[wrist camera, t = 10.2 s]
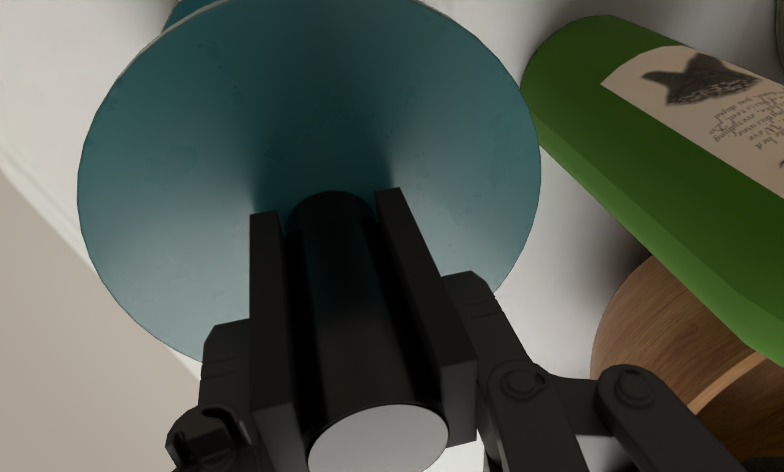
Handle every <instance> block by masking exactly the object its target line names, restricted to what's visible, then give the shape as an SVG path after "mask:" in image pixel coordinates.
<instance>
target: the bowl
mask: <svg viewBox="0 0 784 472" xmlns="http://www.w3.org/2000/svg"><path fill="white" fill-rule="evenodd" d="M618 364H630V365H636V366H640V367H642V368H644V369H647V370H649V371H651V372H653V373H654V374H655V375H656V376H658V377H659V378H660V379H661V380H663V381H664V382H665V383H666V385H667V386H668V387H669V388H670V389H671V390H672V391H673V392H674V393H675V394H676V395H677V396H678V397H679V398H680V400H681V401H682V402H683V403H684V404H685V405H686V406H687V407H688V408H689V409H690V410H691V411H692V412H693V413H694V414H695V416H696V417H697V418H698V419H699V420H700V421H701V422H702V423H703V424H704V425H705V426H706V427H707V428H708V429H709V430H710V432H711V433H712V434H713V435H714V436H715V437H716V438H717V439H718V440H719V441H720V442H721V443H722V444H723V445H724V447H725V448H726V449H727V450H728V451H729V452H730V453H731V454H732V455H733V456H734V457H735V458H736V459H737V460H738V461H739V462H741V463H742V462H743V461H744V460H745V459H747V458H752V457H754V456H755V457H764V456H765V457H767V456H768V457H769V456H771V457H772V456H774V457H778V456H782V457H784V368H783V367H781V366H780V365H778V364H776V363H775V362H773V361H772V360H770V359H768V358H767V357H765V356H764V355H762V354H760V353H759V352H757V351H756V350H754V349H752V348H751V347H749V346H748V345H746V344H745V343H744V342H743V341H742V340H741V339H740V338H739V337H738V336H737V335H736V334H735V333H733V332H732V331H731V330H730V329H729V328H728V327H727V326H726V325H725V324H724V323H723V322H722V321H721V320H720V319H719V318H718V317H717V316H716V315H715V314H714V313H713V312H712V311H711V310H710V309H709V308H708V307H707V306H706V305H705V304H703V303H702V302H701V301H700V300H699V299H698V298H697V297H696V296H695V295H694V294H693V293H692V292H691V291H690V290H689V289H688V288H687V287H686V286H685V285H684V284H683V283H682V282H681V281H680V280H679V279H678V278H677V277H676V276H675V275H674V274H672V273H671V272H670V271H669V270H668V269H667V268H666V267H665V266H664V265H663V264H662V263H661V262H660V261H659V260H658V259H657V258H656V257H655V256H654V255H652V256H650V257H649V258H648V259H647V260H645V261H644V262H643V263H642V264H641V265H639V266H638V267H637V268H636V269H635V270H634V271H633V272H632V273H631V274H630V275H629V276H628V277H627V279H626V280H625V281H624V282H623V283H622V285H621V286H620V287H619V289H618V290H617V291H616V293H615V294H614V296H613V297H612V299H611V300H610V302H609V304H608V306H607V308H606V310H605V312H604V314H603V316H602V318H601V321H600V323H599V326H598V329H597V332H596V335H595V339H594V343H593V349H592V355H591V366H590V379H592V380H598V378H599V376H600V375H601V373H602V371H603V370H605V369H607V368H608V367H610V366H612V365H618Z"/></svg>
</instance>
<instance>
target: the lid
mask: <svg viewBox="0 0 784 472" xmlns="http://www.w3.org/2000/svg"><path fill="white" fill-rule="evenodd" d="M540 185H541V156H540V150H539V144H538V138H537V132H536V128H535V125H534V122H533V119H532V116H531V113H530V110H529V107H528V105H527V103H526V101H525V99H524V97H523V95H522V93H521V91H520V89H519V87H518V85H517V83H516V82H515V80H514V79H513V78H512V76H511V75H510V74H509V72H508V71H507V69H506V68H505V67H504V65H503V64H502V63H501V61H500V60H499V59H498V58H497V57H496V56H495V55H494V54H493V53H492V52H491V51H490V50H489V49H488V48H487V47H486V46H485V45H484V44H483V43H482V42H481V41H480V40H479V39H478V38H477V37H476V36H475V35H473V34H472V33H471V32H469V31H468V30H466V29H465V28H464V27H462V26H461V25H460V24H458V23H457V22H455V21H454V20H453V19H451V18H450V17H449V16H447V15H446V14H444V13H442V12H440V11H438V10H436V9H434V8H432V7H430V6H428V5H426V4H424V3H422V2H420V1H418V0H219V1H217V2H214V3H212V4H209V5H207V6H205V7H202V8H200V9H198V10H197V11H195V12H193V13H192V14H190V15H188V16H187V17H185V18H183V19H182V20H180V21H178V22H177V23H175V24H173V25H172V26H170V27H169V28H167V29H166V30H165V31H164V32H162V33H161V34H160V35H159V36H158V37H156V38H155V39H154V40H153V41H152V42H150V43H149V44H148V45H147V46H146V47H145V48H143V49H142V50H141V51H140V52H139V53H138V54H137V55H136V57H135V58H134V59H133V60H132V61H131V62H130V64H129V65H128V66H127V67H126V68H125V69H124V70H123V72H122V73H121V74H120V75H119V76H118V77H117V79H116V81H115V82H114V84H113V85H112V87H111V89H110V90H109V92H108V94H107V95H106V97H105V99H104V100H103V102H102V104H101V105H100V107H99V108H98V110H97V112H96V114H95V116H94V119H93V121H92V124H91V126H90V129H89V131H88V134H87V136H86V139H85V142H84V145H83V150H82V155H81V159H80V164H79V169H78V179H77V207H78V214H79V220H80V227H81V232H82V235H83V238H84V242H85V245H86V248H87V251H88V254H89V257H90V259H91V261H92V263H93V265H94V267H95V269H96V271H97V273H98V275H99V277H100V279H101V281H102V282H103V284H104V285H105V286H106V288H107V289H108V290H109V292H110V293H111V295H112V296H113V298H114V299H115V300H116V302H117V303H118V304H119V305H120V306H121V307H122V308H123V309H124V310H125V311H126V312H127V313H128V315H129V316H130V317H131V318H132V319H133V320H134V321H135V322H136V323H138V324H139V325H140V326H141V327H143V328H144V329H145V330H146V331H148V332H149V333H150V334H151V335H153V336H154V337H155V338H157V339H158V340H160V341H161V342H163V343H165V344H166V345H168V346H169V347H171V348H173V349H174V350H176V351H178V352H180V353H182V354H184V355H186V356H188V357H190V358H193V359H195V360H197V361H199V362H202V357H203V347H204V342H205V340H206V339H207V337H208V335H209V334H210V332H211V330H212V328H213V327H214V325H218V324H223V323H228V322H232V321H237V320H242V319H247V318H249V215H250V214H256V213H261V212H266V211H272V210H277V213H278V217H279V221H280V224H281V228H282V232H283V236H284V240H285V247H286V258H287V269H288V279H289V290H290V301H291V312H292V323H293V334H294V345H295V356H296V367H297V378H298V388H299V399H300V410H301V421H302V432H303V444H304V455H305V463H306V467H307V469H308V471H309V472H423V471H424V470H425V469H427V468H428V467H429V466H431V465H432V464H433V463H434V462H435V461H436V460H437V459H438V458H439V457H440V455H441V454H442V453H443V451H444V450H445V448H446V446H447V443H448V440H449V435H450V427H449V423H448V420H447V417H446V414H445V412H444V409H443V406H442V403H441V400H440V398H439V395H438V392H437V389H436V386H435V384H434V381H433V378H432V375H431V372H430V369H429V367H428V364H427V361H426V358H425V355H424V352H423V350H422V347H421V344H420V341H419V338H418V335H417V333H416V330H415V327H414V324H413V321H412V318H411V316H410V313H409V310H408V307H407V304H406V301H405V299H404V296H403V293H402V290H401V287H400V284H399V282H398V279H397V276H396V273H395V270H394V268H393V265H392V262H391V259H390V256H389V253H388V251H387V248H386V245H385V242H384V239H383V236H382V234H381V231H380V228H379V225H378V220H377V211H376V203H375V194H374V191H380V190H385V189H390V188H396V187H400V188H401V190H402V193H403V195H404V197H405V199H406V201H407V203H408V206H409V208H410V210H411V212H412V214H413V217H414V219H415V221H416V223H417V225H418V227H419V230H420V232H421V234H422V236H423V238H424V240H425V243H426V245H427V247H428V249H429V251H430V254H431V256H432V258H433V260H434V262H435V264H436V267H437V269H438V271H439V273H440V275H441V276H445V275H450V274H455V273H460V272H464V271H469V270H472V271H473V272H474V273H476V274H477V275H478V276H480V277H481V278H482V279H484V280H485V281H486V282H487V284H488V285H489V287H490V289H491V291H492V293H494V292H495V291H496V290H497V289H498V288H499V286H500V285H501V284H502V282H503V281H504V279H505V278H506V277H507V275H508V274H509V272H510V271H511V270H512V268H513V266H514V264H515V263H516V261H517V259H518V257H519V255H520V254H521V252H522V250H523V248H524V246H525V243H526V241H527V238H528V236H529V233H530V231H531V228H532V225H533V222H534V218H535V214H536V210H537V206H538V201H539V193H540Z"/></svg>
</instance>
